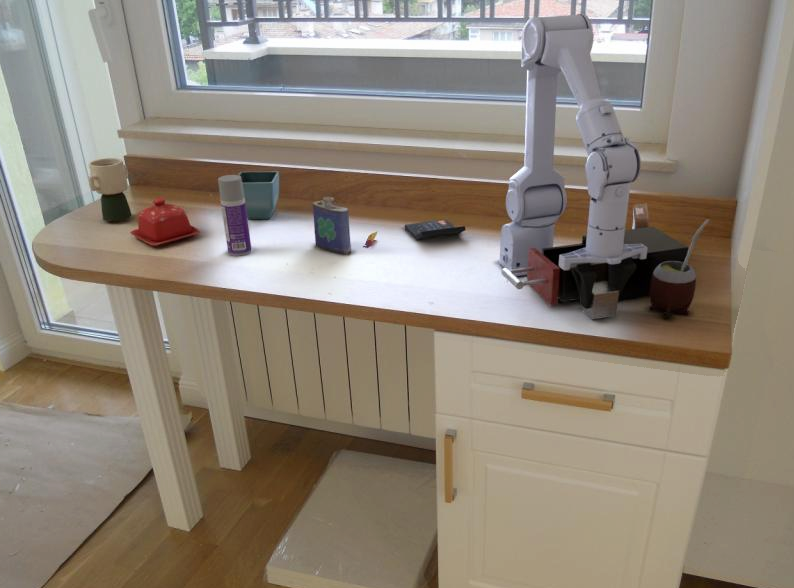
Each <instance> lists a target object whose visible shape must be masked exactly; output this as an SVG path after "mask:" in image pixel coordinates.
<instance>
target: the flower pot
mask: <svg viewBox="0 0 794 588" xmlns="http://www.w3.org/2000/svg"><path fill="white" fill-rule="evenodd" d="M238 175H239V176H241V178H242V185H243V191H244V197H245V204H246V211H247V219H248V220H269V219H272V216H273V214H274V212H275V209H276V207H277V205H278V200H279V196H280V171H278V170H274V171H272V170H271V171H269V170H267V171H263V170H262V171H240V172H239V173H238Z"/></svg>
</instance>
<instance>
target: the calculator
mask: <svg viewBox="0 0 794 588" xmlns="http://www.w3.org/2000/svg"><path fill="white" fill-rule="evenodd" d="M404 229H405V230H406V232H407V233H408V234H410V235H411V237H412V238H413V239H414V240H415V241H417V240H427V239H432V238H440V237H447V236H454V235H459V234H461V233H463V232H465V231H466V226H465V225H463V226H454V225H453V224H452V223H451V222H450V221H449V220H447V219H439V220H438V219H437V220H430V221H423V222H416V223H407V224H404Z"/></svg>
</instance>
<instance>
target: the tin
mask: <svg viewBox="0 0 794 588" xmlns="http://www.w3.org/2000/svg"><path fill="white" fill-rule="evenodd" d="M632 215H633V216H632V224H631V225H632V226H631V229H638V228H646V227H650V218H649V217H650V215H649V209H648V203H647V202H646V203H636V204H633V205H632Z"/></svg>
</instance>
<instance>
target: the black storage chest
mask: <svg viewBox="0 0 794 588" xmlns="http://www.w3.org/2000/svg"><path fill="white" fill-rule="evenodd" d="M581 238H582V239H581V243H586V240H587V234H586V235H582V237H581ZM623 244H643V245H644V246H646V247H647V248H648V249H647V256H646V259H639V258H635V259H633V261H632V262H634V263H635V264H636V270H635V272H634V273H633V274H632V275H631V277H630V278H629V279H628V281H627V282H626V284H625V286H624V288H623V290H622V292H621V295H620V297H619V300H618V302H622V301H623V302H624V301H629V300H636V299H641V298H642V299H643V298H647V297H649V298H650V283H651V278H652V275H653V273H654V270H655V269H656V267H657V266H658V265H659V264H661V263H663V262H667V261H678V262H683V263H684V261H685V258H686V256H687V253H688V251H689V246H687V245H685V244H684V243H683V242H680V241H679V240H677V239H676V238H674V237H672V236H670V235H668V234H667V233H665V232H663V231H662V230H660V229H658V228H657V227H655V226H649V227H646V228H638V229H632V228H631V229H625V235H624V243H623Z"/></svg>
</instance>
